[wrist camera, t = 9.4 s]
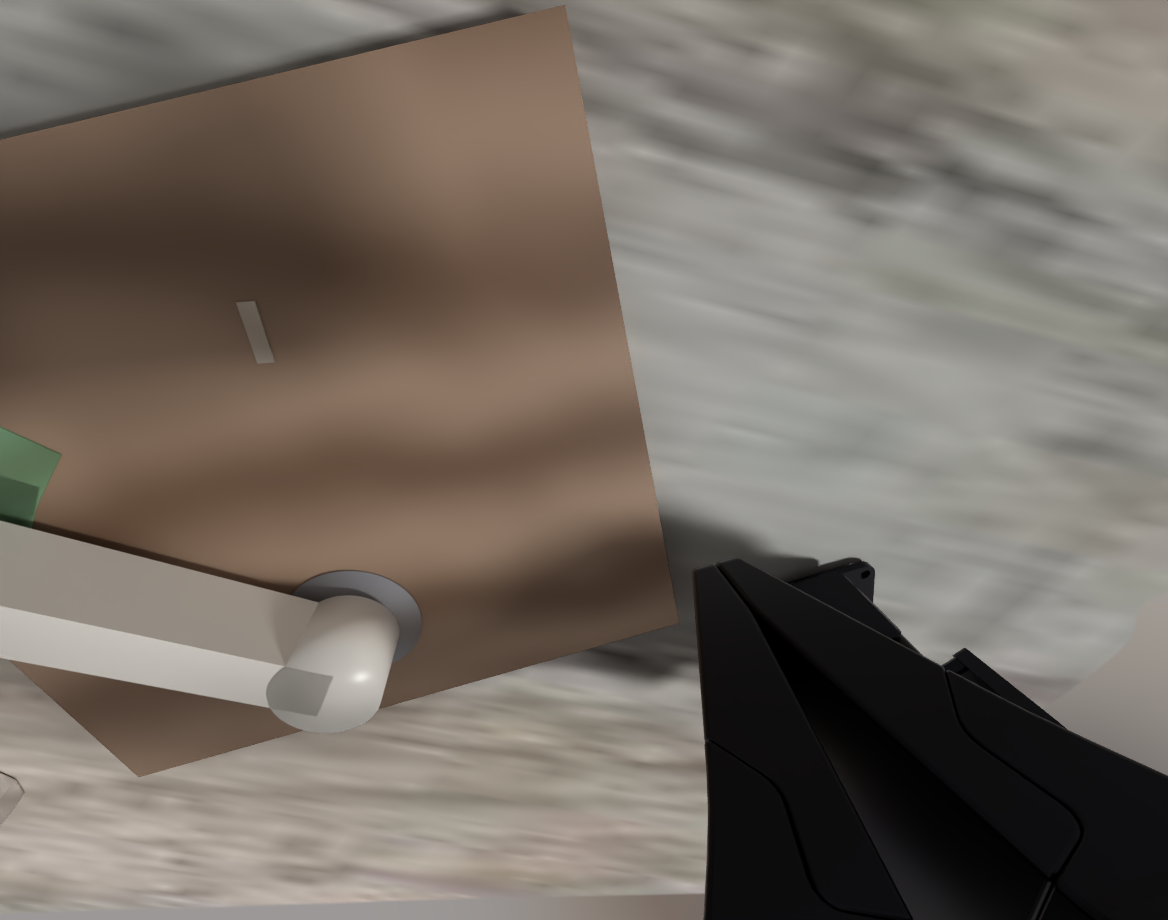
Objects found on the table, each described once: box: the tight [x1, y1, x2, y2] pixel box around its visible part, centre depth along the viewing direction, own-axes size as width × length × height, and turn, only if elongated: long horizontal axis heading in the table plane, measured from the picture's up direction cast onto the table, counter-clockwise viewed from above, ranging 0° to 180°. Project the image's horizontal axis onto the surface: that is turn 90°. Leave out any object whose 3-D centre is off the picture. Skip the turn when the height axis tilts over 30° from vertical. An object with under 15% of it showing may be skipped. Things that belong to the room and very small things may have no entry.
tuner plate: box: [0, 5, 679, 777], centre depth 17 cm, size 22×25×2 cm
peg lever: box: [0, 521, 399, 733], centre depth 15 cm, size 16×4×3 cm, turn 63°
